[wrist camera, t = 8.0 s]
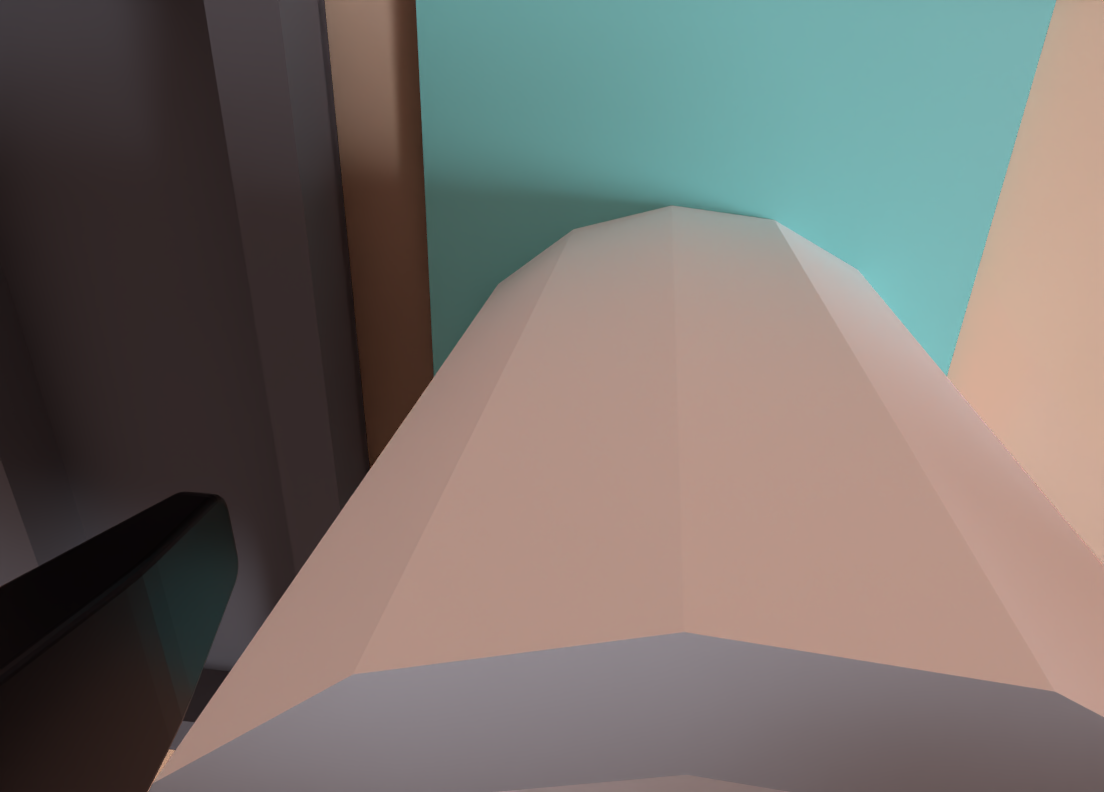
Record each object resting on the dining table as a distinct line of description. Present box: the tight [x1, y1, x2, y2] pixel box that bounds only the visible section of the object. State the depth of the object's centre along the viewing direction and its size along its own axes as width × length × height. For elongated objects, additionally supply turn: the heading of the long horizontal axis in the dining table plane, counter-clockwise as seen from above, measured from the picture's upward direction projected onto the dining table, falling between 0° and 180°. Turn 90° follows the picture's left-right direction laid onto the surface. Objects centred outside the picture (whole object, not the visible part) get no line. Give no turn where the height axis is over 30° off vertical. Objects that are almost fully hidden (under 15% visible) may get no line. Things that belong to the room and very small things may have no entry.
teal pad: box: [416, 0, 1056, 376], centre depth 11 cm, size 12×6×1 cm, turn 179°
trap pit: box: [0, 0, 370, 750], centre depth 11 cm, size 12×5×1 cm, turn 179°
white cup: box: [148, 206, 1104, 792], centre depth 8 cm, size 7×7×7 cm
